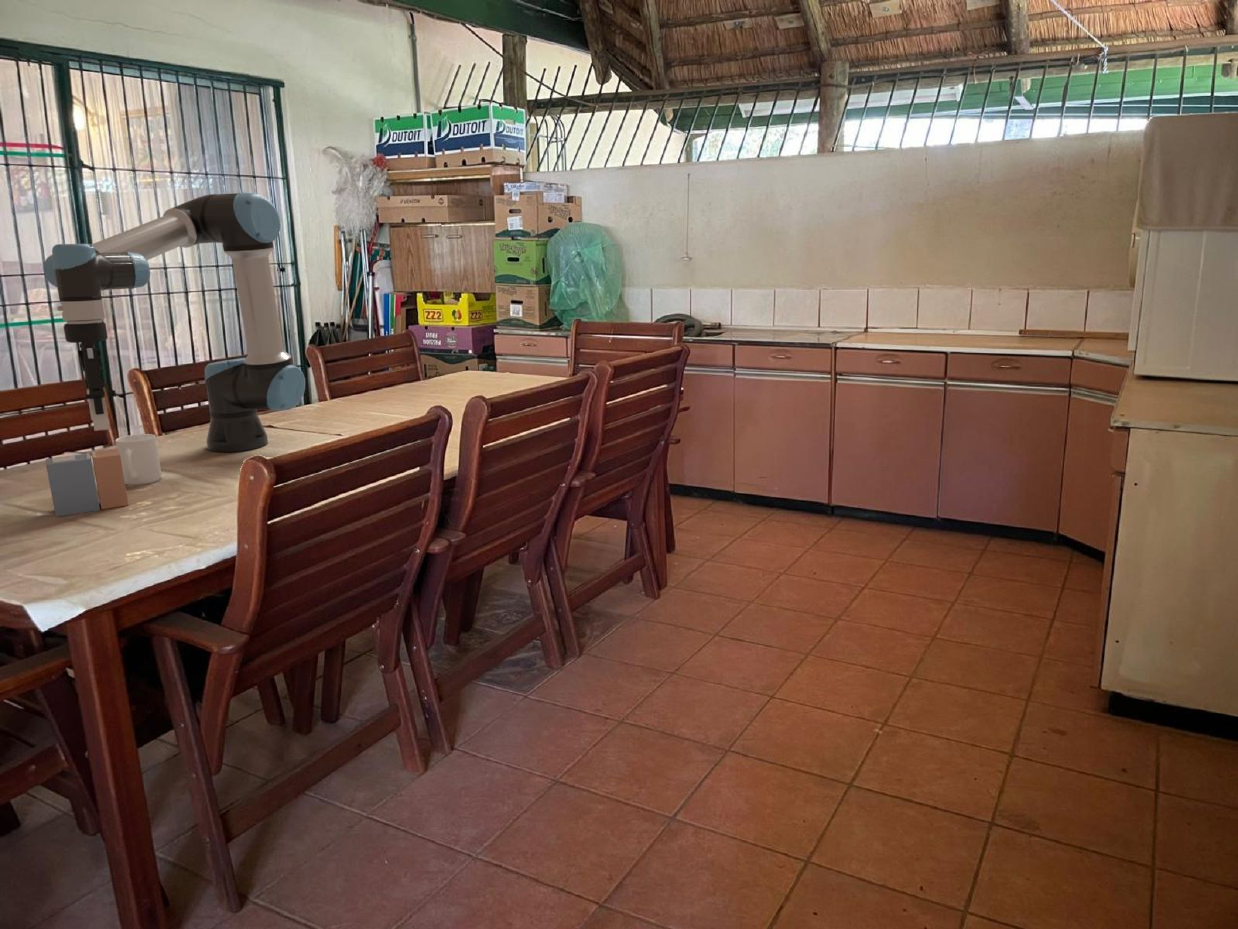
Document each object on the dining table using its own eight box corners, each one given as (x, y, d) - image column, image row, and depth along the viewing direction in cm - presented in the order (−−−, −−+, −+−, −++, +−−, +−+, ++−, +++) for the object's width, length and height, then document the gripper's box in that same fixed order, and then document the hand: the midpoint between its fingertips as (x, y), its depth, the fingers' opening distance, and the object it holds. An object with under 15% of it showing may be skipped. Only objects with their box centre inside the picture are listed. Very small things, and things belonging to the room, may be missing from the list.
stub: (126, 498, 200) (117, 448, 198) (128, 505, 195) (119, 453, 193) (99, 502, 198) (91, 451, 195) (101, 509, 193) (92, 457, 190)
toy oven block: (98, 503, 198) (89, 452, 195) (100, 510, 193) (91, 458, 190) (55, 509, 194) (45, 458, 191) (55, 516, 189) (45, 464, 186)
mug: (149, 489, 208) (142, 444, 205) (110, 491, 207) (102, 446, 204) (167, 475, 219) (160, 433, 217) (130, 477, 218) (123, 434, 216)
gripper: (61, 318, 196) (77, 416, 201) (64, 327, 175) (81, 436, 180) (101, 316, 200) (116, 413, 205) (108, 324, 179) (124, 432, 184)
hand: (100, 424), depth 192 cm, fingers open, 13 cm apart
